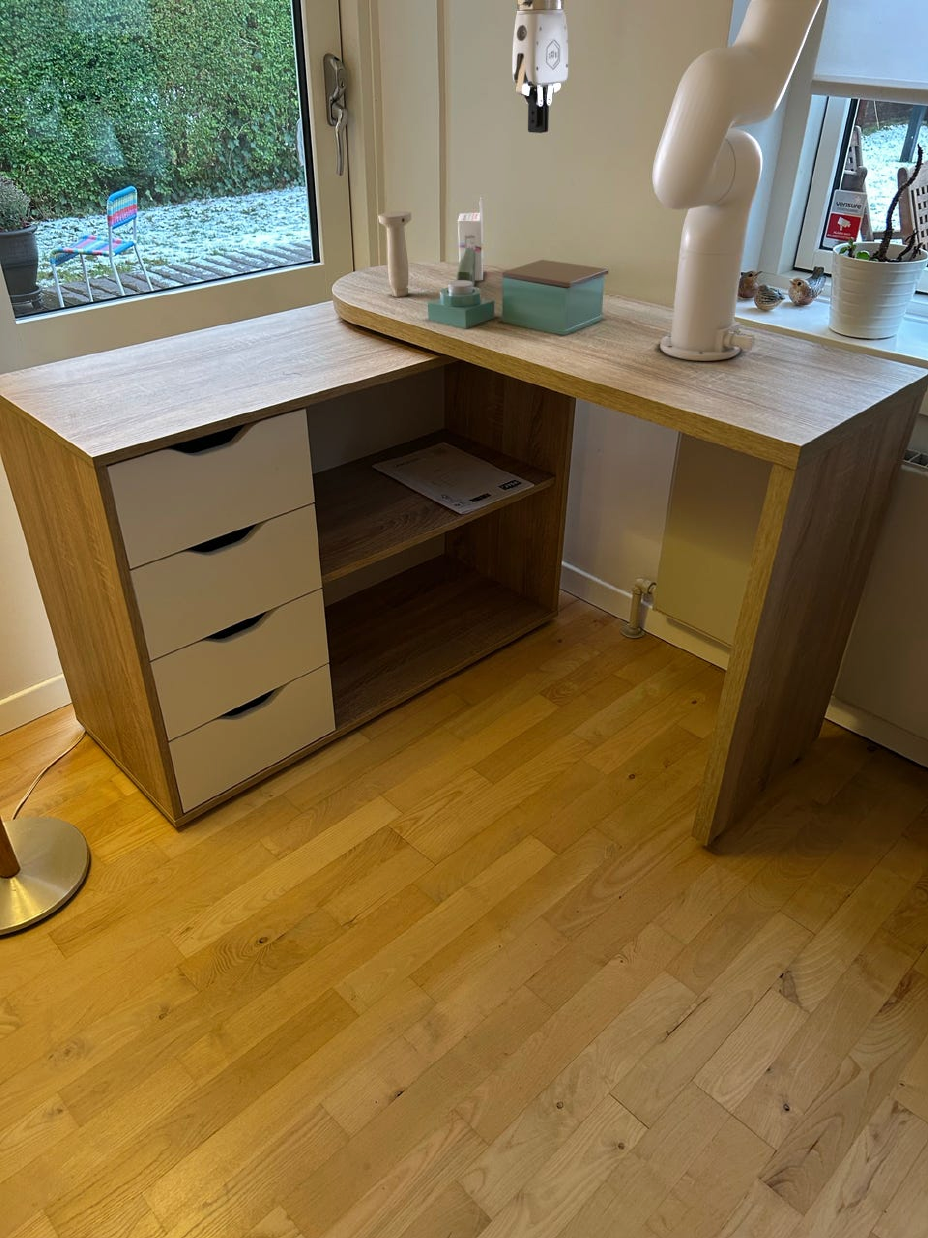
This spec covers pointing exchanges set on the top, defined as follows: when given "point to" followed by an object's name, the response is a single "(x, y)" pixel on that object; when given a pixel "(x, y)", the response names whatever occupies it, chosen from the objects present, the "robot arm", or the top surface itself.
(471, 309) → the flush button base
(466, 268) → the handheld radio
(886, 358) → the top surface
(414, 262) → the top surface
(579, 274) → the brown rectangular panel
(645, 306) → the top surface
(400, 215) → the handle
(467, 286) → the flush button
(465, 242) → the ink cartridge box
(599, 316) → the teal bin
